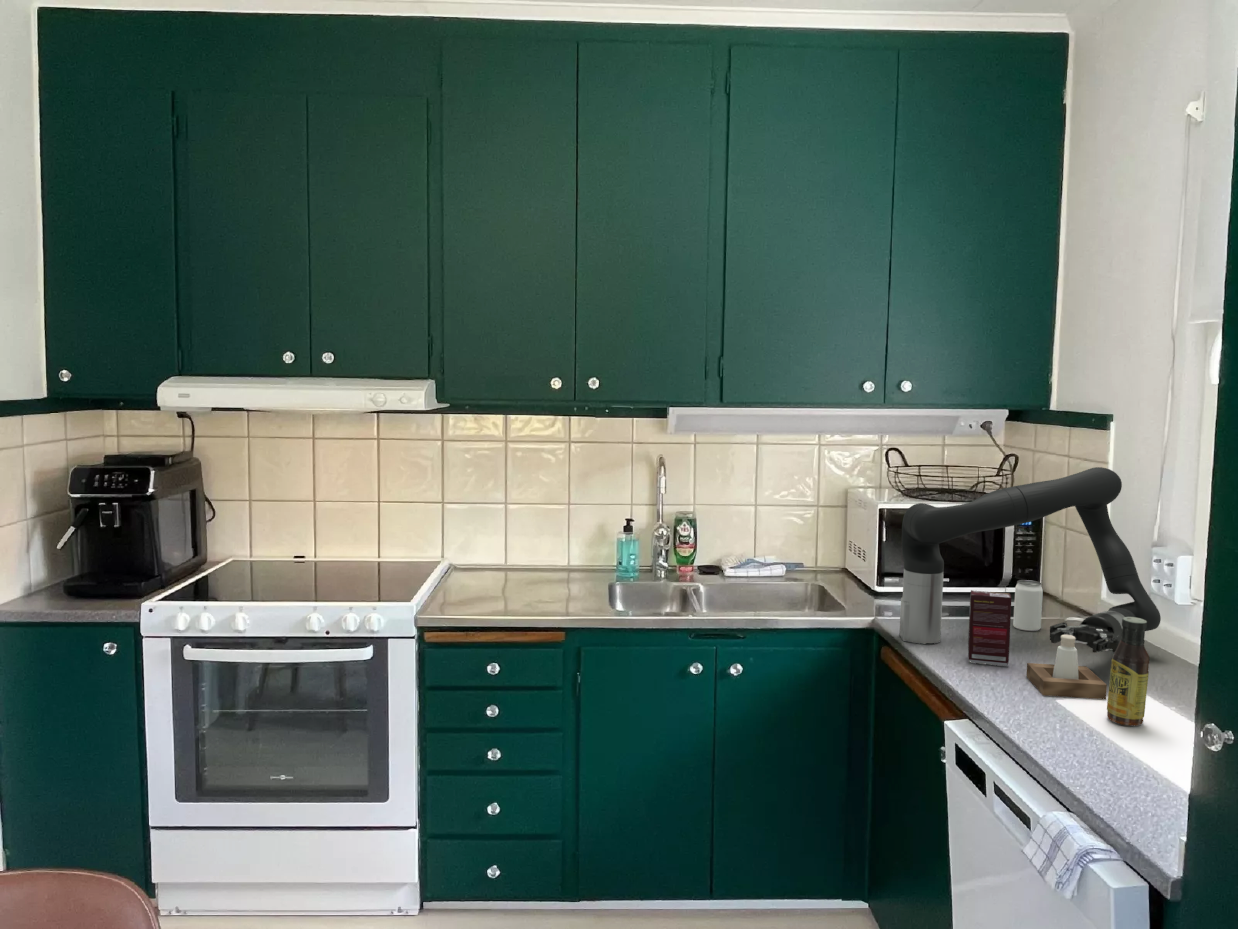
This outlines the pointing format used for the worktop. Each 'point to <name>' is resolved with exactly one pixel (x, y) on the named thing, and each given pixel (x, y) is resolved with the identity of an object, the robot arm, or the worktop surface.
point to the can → (1028, 605)
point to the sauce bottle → (1129, 675)
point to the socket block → (1066, 682)
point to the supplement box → (989, 628)
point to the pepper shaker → (1066, 659)
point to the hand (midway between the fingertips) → (1073, 643)
